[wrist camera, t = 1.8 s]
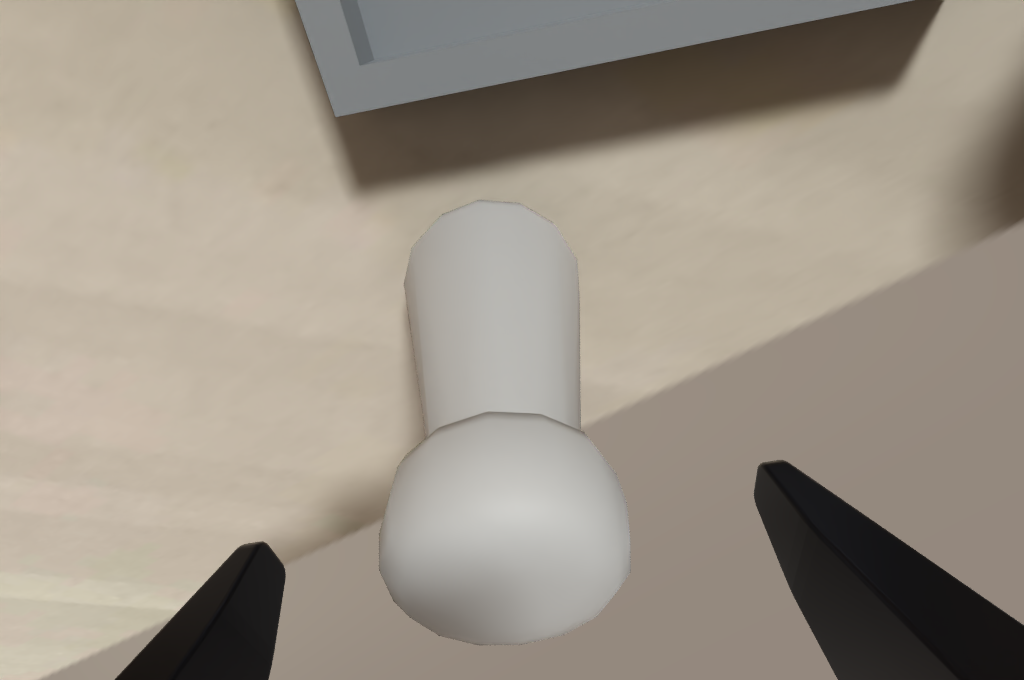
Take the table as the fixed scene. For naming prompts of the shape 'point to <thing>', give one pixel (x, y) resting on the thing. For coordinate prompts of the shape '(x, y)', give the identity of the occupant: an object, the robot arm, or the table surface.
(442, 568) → the salt shaker
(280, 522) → the table surface
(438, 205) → the table surface
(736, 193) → the table surface
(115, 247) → the table surface
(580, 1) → the tray
